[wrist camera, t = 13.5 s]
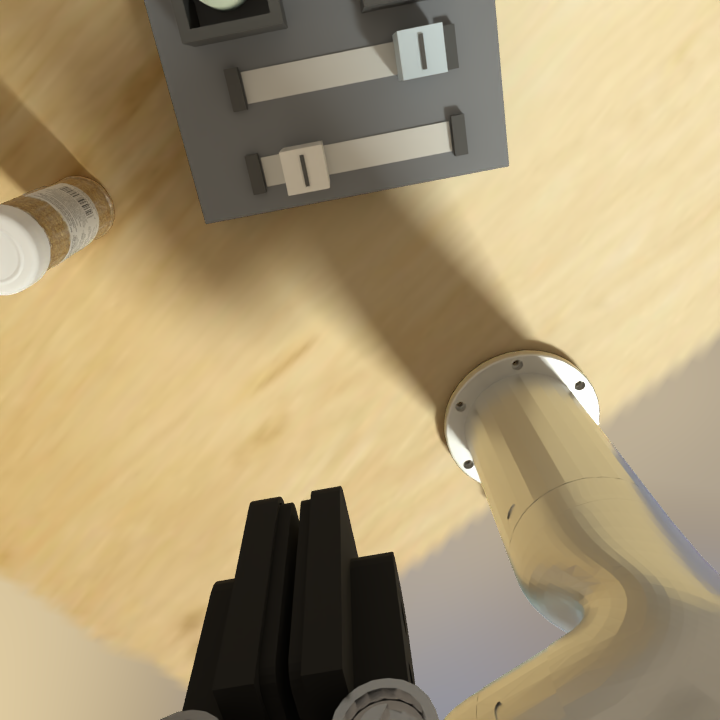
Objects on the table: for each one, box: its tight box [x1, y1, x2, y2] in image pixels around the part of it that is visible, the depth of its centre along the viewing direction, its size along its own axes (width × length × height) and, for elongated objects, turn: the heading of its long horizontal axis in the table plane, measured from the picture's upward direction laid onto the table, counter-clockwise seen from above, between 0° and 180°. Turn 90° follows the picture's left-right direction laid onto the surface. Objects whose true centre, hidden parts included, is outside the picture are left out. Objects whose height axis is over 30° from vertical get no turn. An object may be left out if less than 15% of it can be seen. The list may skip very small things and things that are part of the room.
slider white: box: [279, 140, 330, 196], centre depth 39 cm, size 2×2×3 cm
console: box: [144, 0, 509, 224], centre depth 39 cm, size 16×20×8 cm
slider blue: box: [392, 22, 448, 81], centre depth 37 cm, size 2×2×3 cm
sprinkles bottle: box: [0, 176, 114, 295], centre depth 39 cm, size 5×5×13 cm
